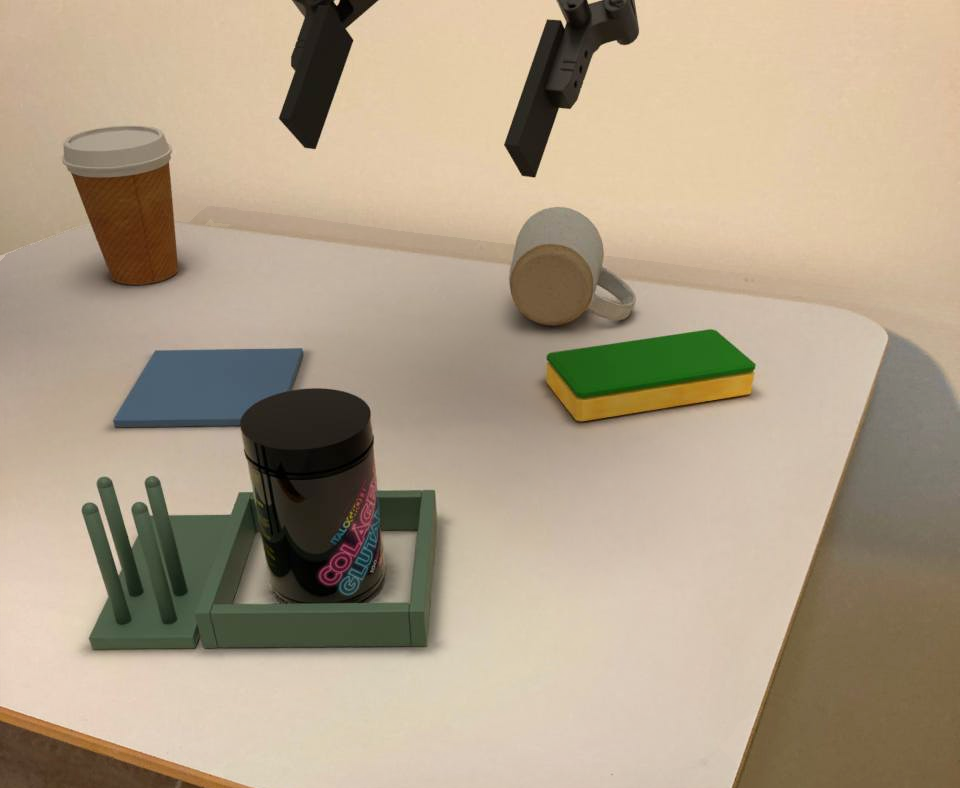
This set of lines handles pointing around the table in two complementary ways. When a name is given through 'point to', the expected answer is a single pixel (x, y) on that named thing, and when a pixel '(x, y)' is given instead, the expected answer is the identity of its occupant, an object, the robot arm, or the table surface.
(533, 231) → the ceramic mug
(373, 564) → the supplement container
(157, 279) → the disposable coffee cup
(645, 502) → the table surface
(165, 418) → the blue mat
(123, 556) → the dish rack
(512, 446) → the table surface
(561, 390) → the dish sponge
